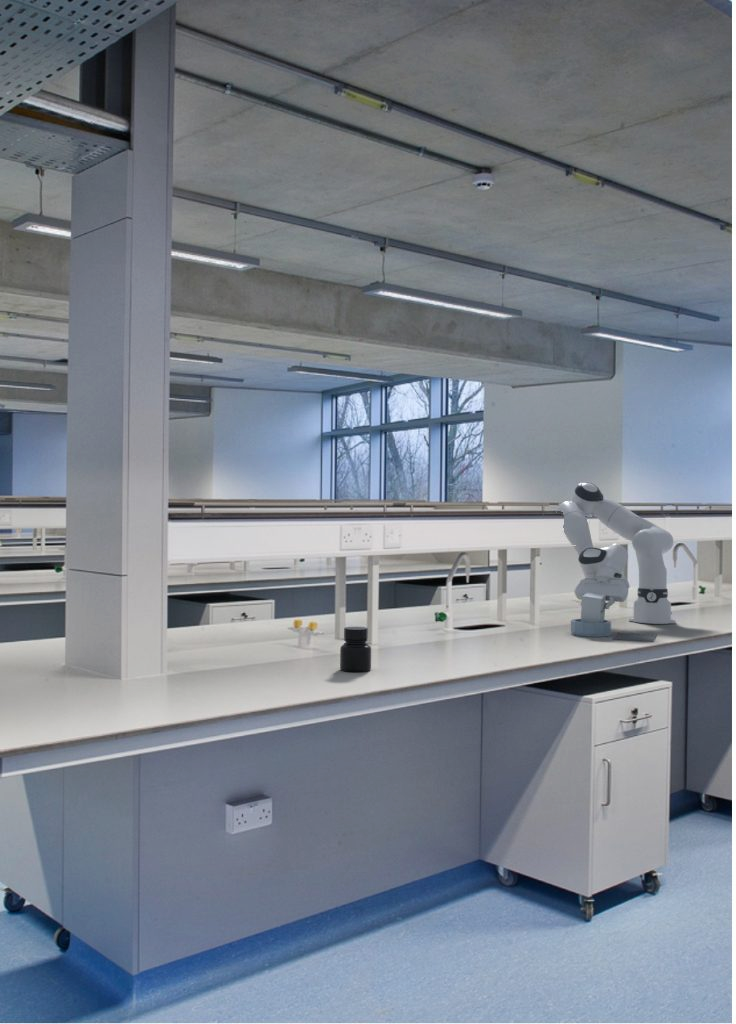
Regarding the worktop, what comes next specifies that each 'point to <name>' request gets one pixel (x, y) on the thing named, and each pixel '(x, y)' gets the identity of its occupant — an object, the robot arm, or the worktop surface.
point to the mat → (635, 636)
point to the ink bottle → (355, 650)
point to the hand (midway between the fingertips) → (594, 607)
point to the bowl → (590, 628)
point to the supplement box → (593, 608)
